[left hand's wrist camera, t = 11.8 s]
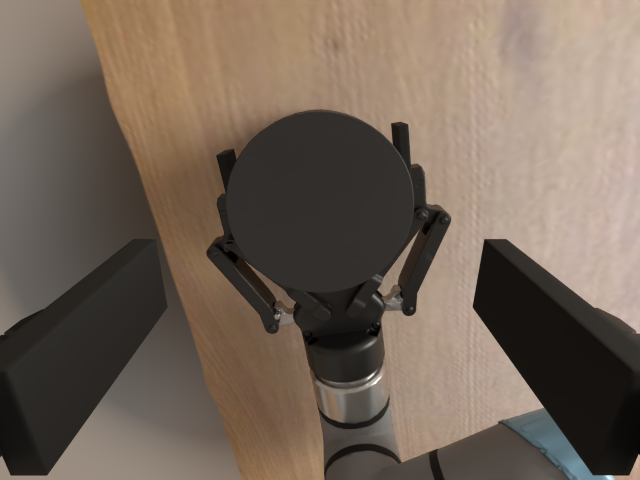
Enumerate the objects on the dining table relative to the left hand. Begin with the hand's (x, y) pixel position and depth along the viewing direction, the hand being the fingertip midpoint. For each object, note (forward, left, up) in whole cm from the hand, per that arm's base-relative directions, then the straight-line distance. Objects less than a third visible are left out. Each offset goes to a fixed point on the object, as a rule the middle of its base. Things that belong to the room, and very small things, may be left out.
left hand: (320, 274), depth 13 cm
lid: (0, 0, -8) cm, 8 cm away
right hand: (-3, -1, -18) cm, 18 cm away
